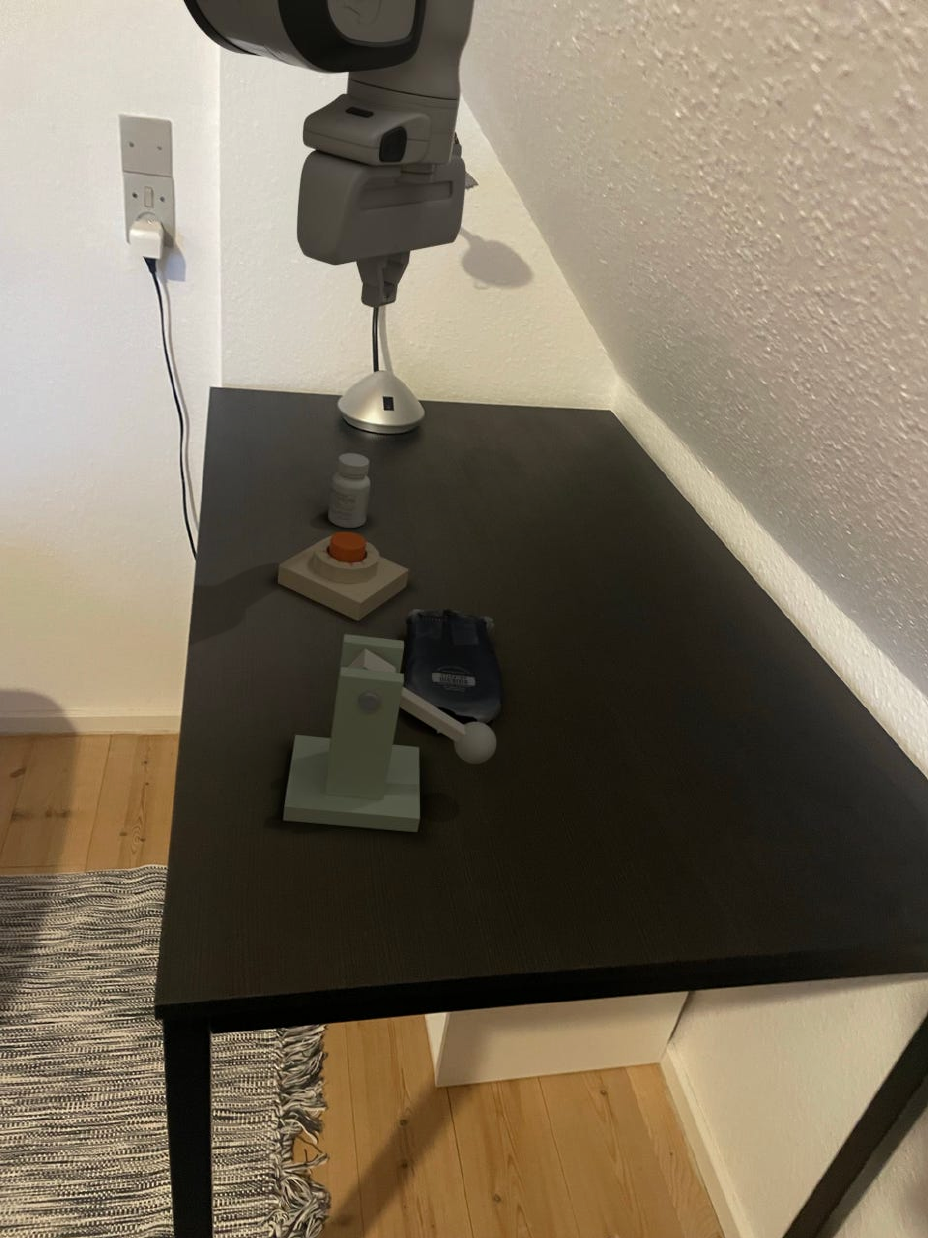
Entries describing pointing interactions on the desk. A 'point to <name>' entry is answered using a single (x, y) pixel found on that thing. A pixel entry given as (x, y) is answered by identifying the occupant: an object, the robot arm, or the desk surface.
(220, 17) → the robot arm
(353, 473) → the pill bottle
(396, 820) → the switch base
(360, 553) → the power button
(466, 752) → the switch lever
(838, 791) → the desk surface
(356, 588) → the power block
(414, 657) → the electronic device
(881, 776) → the desk surface
